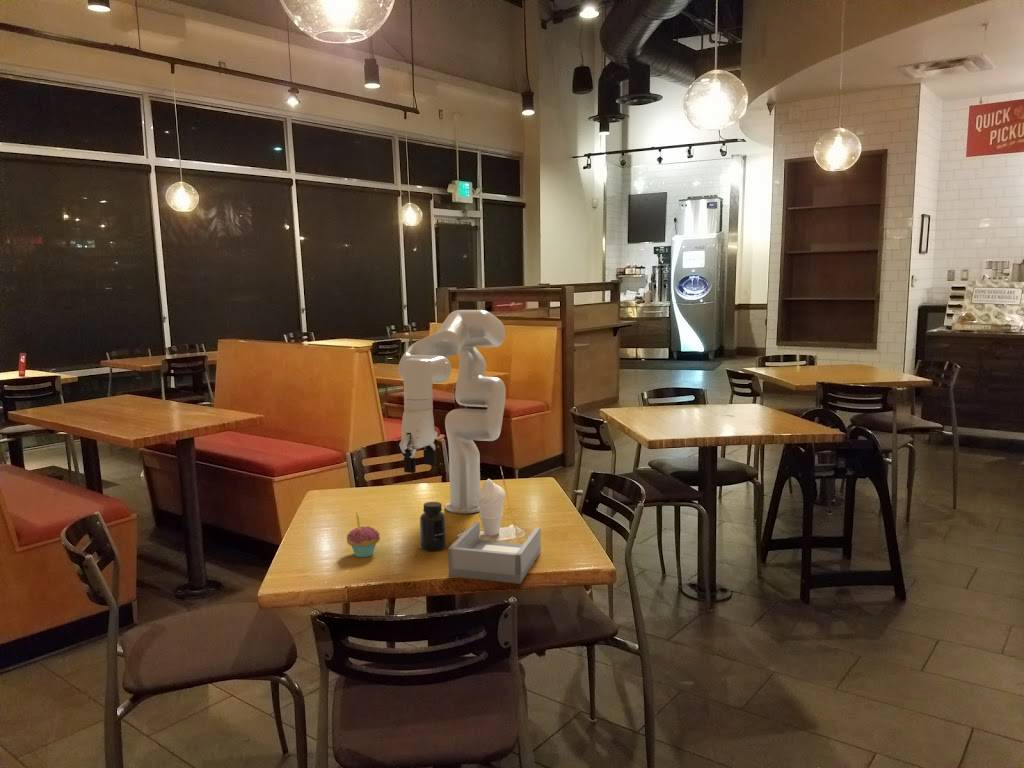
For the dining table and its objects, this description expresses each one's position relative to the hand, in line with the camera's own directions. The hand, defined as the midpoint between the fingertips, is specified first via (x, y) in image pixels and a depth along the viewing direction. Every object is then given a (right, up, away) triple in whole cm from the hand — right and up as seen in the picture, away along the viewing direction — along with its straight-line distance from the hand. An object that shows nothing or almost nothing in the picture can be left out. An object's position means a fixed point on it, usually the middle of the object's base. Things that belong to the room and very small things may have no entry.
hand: (419, 468), depth 192 cm
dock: (+21, -23, -10) cm, 33 cm away
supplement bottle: (+3, -22, +2) cm, 22 cm away
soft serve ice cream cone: (+19, -20, +12) cm, 30 cm away
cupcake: (-14, -22, -2) cm, 27 cm away
